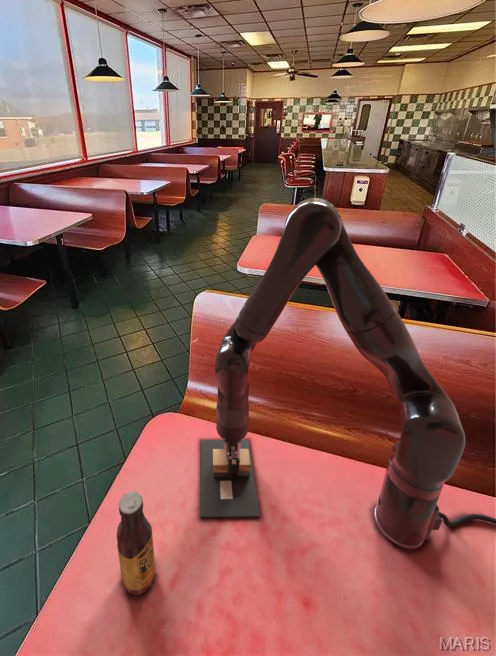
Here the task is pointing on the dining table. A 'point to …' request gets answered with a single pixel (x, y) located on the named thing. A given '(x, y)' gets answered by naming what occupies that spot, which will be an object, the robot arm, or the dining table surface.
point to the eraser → (221, 463)
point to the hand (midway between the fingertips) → (231, 466)
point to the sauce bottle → (135, 545)
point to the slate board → (226, 487)
